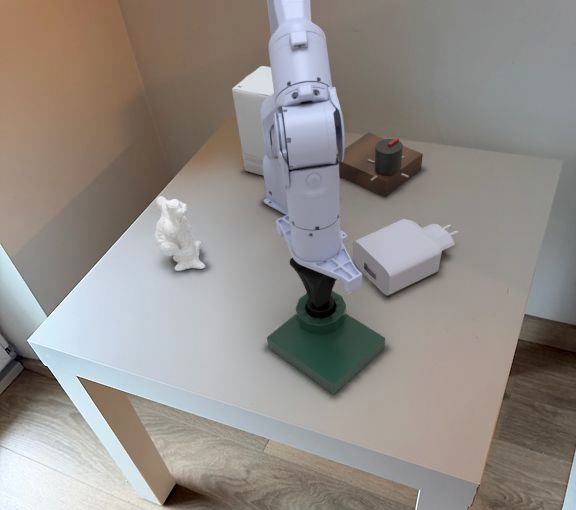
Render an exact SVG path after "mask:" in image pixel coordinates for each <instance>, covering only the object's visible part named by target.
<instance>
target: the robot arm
mask: <svg viewBox="0 0 576 510" xmlns="http://www.w3.org/2000/svg"><path fill="white" fill-rule="evenodd" d="M266 6H267V15H268V24H269V25H268V26H269V32H270V33H269V34H270V39H269V41H268V47H267V48H268V56H269V65H270V67H271V73H272V81H273V88H274V93H273V94H272V95H271V96H269V97H268V98H267V99H266V100H265V101H264V102H263V103H262V107H261V118H262V119H261V123H262V131H263V139H264V146H265V153H266V155H265V157H264V160H263V175H264V176H263V175H262V176H263V180H264V187H265V194H266V198H264V199H263V204H265V205H266V206H269V207H271V208H272V209H274V210H276V211H278V212H280V213H281V214H283V215H284V216H282V217H280V218H278V219H276V220H275V226H276V234H277V235H279V236H280V237H283V238H284V240H285V244H286V245H287V247H288V250H289V253H290V256H291V258H290V259H289V266H290V267H291V268H292V269H293V270H294V271H295V273H296V274H297V275H298V277H299V278H300V280H301V282H302V284H303V287H304V289H305V291H306V293H307V294H308V296H309V299H310V301H311V302H312V303H313V304H314V305H315V306H316V307H320V306H322V305H323V304H325V303H327V302H328V301H329V299H330V296H331V292H332V291H333V289H334V286H335V284H336V281H339V282H341V283H342V284H343V291H344V292H346V293H347V294H348V295H350V294H352V293H353V292H355V291H357V290H359V289H360V288H362V287H363V273H362V272H361V271H360V270H359V269H358V268H357V266H356V265H355V263H354V261H353V259H352V257H351V256H350V254H349V252H348V249H347V248H346V246H345V244H344V243H345V242H346V241H347V240H348V234H347V233H346V232H345V231H343V230H342V229H341V197H340V195H341V194H340V193H341V192H340V191H341V190H340V176H339V160H338V157H337V155H336V154H339V158H340V161H341V162H343V159H344V150H345V148H346V133H345V122H344V115H343V111H342V108H341V104H340V100H339V97H338V94H337V88H336V86H333V81H332V75H331V67H330V59H329V52H328V45H327V37H326V34H325V32H324V30H323V29H322V28H321V27H320V26H318V24H315V23H314V22H312V11H311V9H312V8H311V0H266Z"/></svg>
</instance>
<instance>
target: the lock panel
mask: <svg viewBox="0 0 576 510" xmlns="http://www.w3.org/2000/svg"><path fill="white" fill-rule="evenodd" d="M384 139H385V138H384V137H381V136H379V135H376V134H374V133H371V132H367V133H365V134H364V135H363V136H361V137H360V138H358V139H357V140H356V141H354V142H352V143H351V144H350V145H348V146H345V150H344V159H343V162H341V161H340V158H339V154H338V153H336V155H337V157H338V160H339V177H341V178H343V179H345V180H347V181H349V182H352V183H354V184H356V185H359V186H360V187H363V188H365V189H367V190H369V191H371V192H374V193H376V194H378V195H380V196H382V197H384V198H385V197H387V196H388V195H389V194H391V193H392V192H394V191H395V190H396V189H397V188H399V187H401V186H402V185H403V184H404V183H405V182H407V181H408V180H409V179H411V178H412V177H414V176H415V175H416V174H418V173H419V172H420V171H421V170H422V166H423V165H422V164H423V156H424V154H423V152H420V151H417V150H415V149H412V148H409V147H407V146H404V145H403V151H402V163H401V170H400V171H399V172H398V173H397V174H394V175H390V176H385V175H380V174H378V173H377V172H376V171H375V146H376V144H377V143H378V142H379V141H381V140H384Z"/></svg>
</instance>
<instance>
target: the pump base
mask: <svg viewBox="0 0 576 510" xmlns="http://www.w3.org/2000/svg"><path fill="white" fill-rule="evenodd" d="M331 296H332V297H333V299H334V310H335V312H334V313H333V314H332V315H331V316H329V317H326V318H322V319H320V318H313V317H311V316H310V315H308V310H307V300H308V298H309V296H308V294H307V292H306V293H305V294H304V295H303V296H301V297H300V298H299V299H298V301H297V302H296V306H295V314H294V315H293V316H291V317H290V318H289V319H288V320H286V321H285V322H284V323H283V324H281V325H280V326H278V327H277V329H275V330H273V332H272V333H270V334H269V335H268V336H266V341H267V345H268V348H269V350H270V351H273V353H275V354H277V355H278V356H279V357H281V358H282V359H283V360H285V361H286V362H287V363H289V364H290V365H292V366H293V367H295V368H296V369H298V370H299V371H300V372H301V373H303V374H304V375H306V376H307V377H308V378H310V379H311V380H312V381H314V383H317V384H318V385H320V386H321V387H322V388H324V389H325V390H326V391H328V392H329V393H331V394H332V395H336V394H337V393H338V392H339V391H340V390H341V389H342V388H344V387H345V386H346V385H347V384H348V383H349V382H350V381H352V379H353V378H354V377H356V375H357V374H359V373H360V372H361V371H362V370H363V369H364V368H365V367H366V366H367V365H369V364H370V362H372V361H373V360H374V359H376V357H377V356H378V355H380V353H382V352H383V351H385V348H386V347H385V346H386V337H385V336H383V335H382V334H380V333H378V332H376V331H375V330H373V329H371V328H370V327H369V326H367V325H365V324H363V323H362V322H361V321H359V320H357V319H355V318H354V317H352V316H350V314H348V313H347V304H346V302H345V300H344V298H343V296H342V295H340V294H339V293H337V292H335V291H333V290H332V292H331Z"/></svg>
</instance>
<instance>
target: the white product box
mask: <svg viewBox="0 0 576 510" xmlns="http://www.w3.org/2000/svg"><path fill="white" fill-rule="evenodd" d="M231 90H232V97H233V104H234V110H235V116H236V122H237V129H238V135H239V140H240V141H239V142H240V147H241V154H242V159H243V166H244V171H245V172H249V173H251V174H256V175H259V176H262V177H264V175H263V160H264V157H265V155H266V153H265V146H264V139H263V131H262V123H261V119H262V118H261V107H262V103H263V102H264V101H265V100H266V99H267V98H268V97H269V96H271V95H272V94H273V93H274V88H273V81H272V73H271V66H265V65H261V66H259V67H258V68H257V69H255V70H254V71H252V72H251V73H250V74H248V75H246V76H245V77H244V78H243V79H242V80H241V81H240V82H238V84H236V85H235V86H233V87H232V88H231Z"/></svg>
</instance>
